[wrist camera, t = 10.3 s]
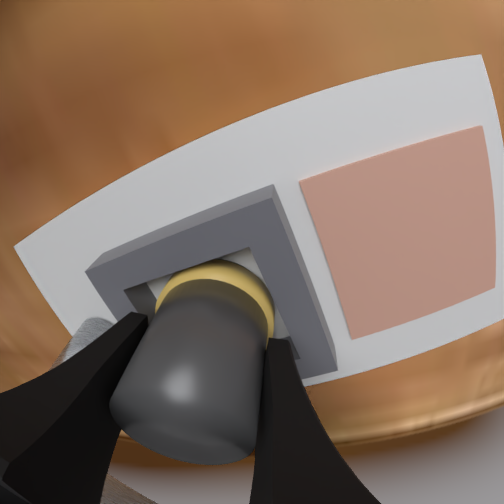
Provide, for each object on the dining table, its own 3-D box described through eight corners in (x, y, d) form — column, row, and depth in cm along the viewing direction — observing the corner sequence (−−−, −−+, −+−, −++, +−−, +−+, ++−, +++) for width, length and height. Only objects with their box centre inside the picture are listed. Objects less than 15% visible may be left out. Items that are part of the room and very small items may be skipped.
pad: (479, 125, 8) (482, 126, 8) (493, 285, 11) (495, 287, 11) (298, 180, 10) (299, 182, 10) (351, 336, 13) (352, 340, 13)
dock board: (470, 55, 8) (504, 52, 6) (498, 308, 12) (518, 336, 10) (22, 239, 13) (-5, 260, 11) (139, 399, 18) (128, 427, 16)
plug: (298, 300, 12) (300, 437, 7) (232, 358, 14) (206, 476, 9) (204, 230, 11) (137, 350, 6) (149, 304, 13) (87, 415, 8)
